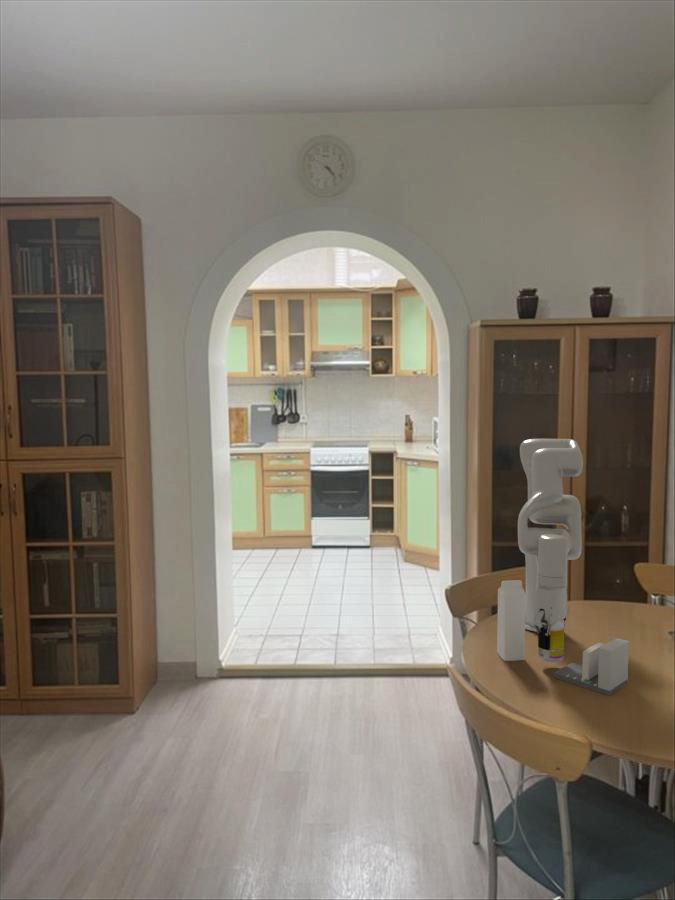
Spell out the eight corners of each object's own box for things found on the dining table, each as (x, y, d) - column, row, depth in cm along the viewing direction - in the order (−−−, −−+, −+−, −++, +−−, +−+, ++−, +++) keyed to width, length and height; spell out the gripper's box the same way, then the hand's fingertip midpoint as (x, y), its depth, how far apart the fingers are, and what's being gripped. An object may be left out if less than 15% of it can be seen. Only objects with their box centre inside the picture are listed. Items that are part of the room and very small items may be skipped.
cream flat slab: (579, 679, 168) (579, 653, 168) (598, 668, 175) (599, 642, 175) (585, 681, 167) (585, 654, 167) (604, 669, 174) (605, 643, 174)
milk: (497, 653, 191) (497, 577, 190) (517, 652, 192) (517, 577, 190) (504, 661, 185) (504, 583, 184) (525, 660, 186) (526, 582, 184)
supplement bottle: (567, 657, 181) (568, 611, 180) (557, 664, 176) (558, 617, 175) (544, 651, 186) (545, 606, 184) (533, 658, 181) (534, 612, 179)
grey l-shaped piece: (553, 677, 175) (554, 635, 174) (572, 666, 181) (573, 626, 181) (609, 695, 164) (610, 651, 163) (627, 683, 170) (628, 641, 170)
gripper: (555, 571, 188) (554, 633, 189) (522, 584, 176) (521, 650, 177) (580, 576, 182) (579, 640, 184) (548, 590, 170) (547, 658, 172)
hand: (551, 644), depth 181 cm, fingers closed on supplement bottle, 6 cm apart
